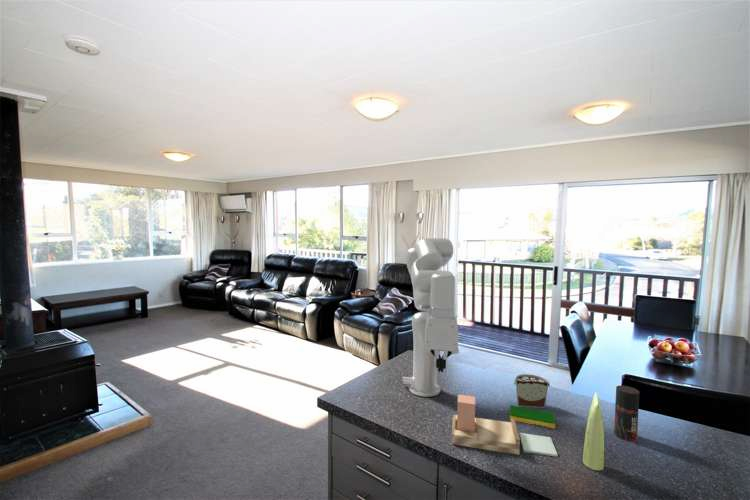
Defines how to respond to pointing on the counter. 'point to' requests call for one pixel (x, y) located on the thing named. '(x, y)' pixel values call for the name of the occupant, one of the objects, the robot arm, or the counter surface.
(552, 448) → the mat
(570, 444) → the counter surface
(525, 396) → the food container
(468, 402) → the block
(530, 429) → the counter surface
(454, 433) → the open box
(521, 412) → the dish sponge
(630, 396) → the deodorant
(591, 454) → the tube
